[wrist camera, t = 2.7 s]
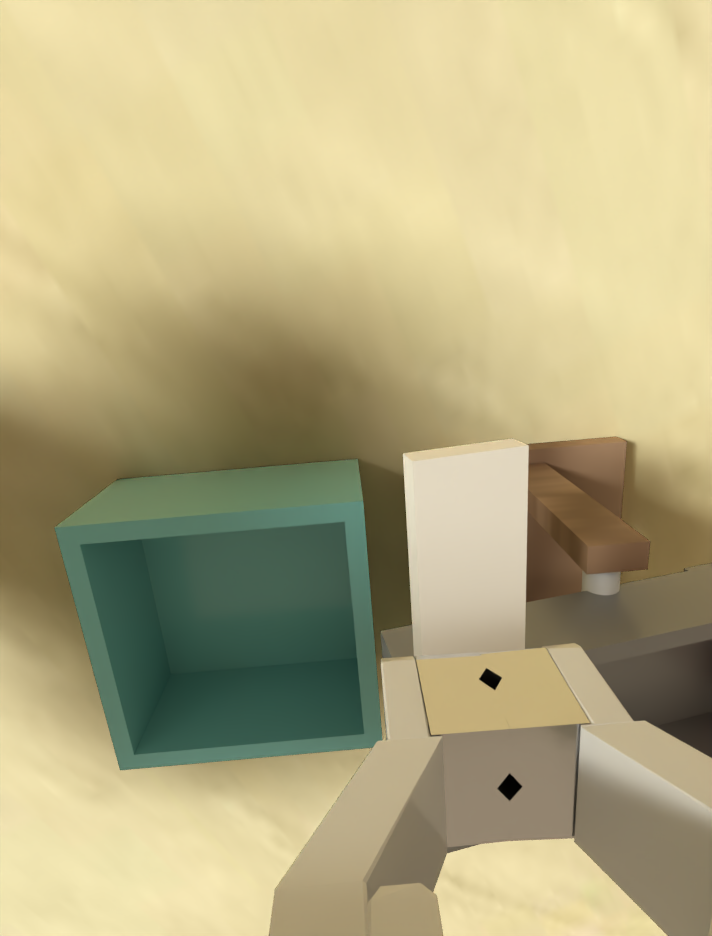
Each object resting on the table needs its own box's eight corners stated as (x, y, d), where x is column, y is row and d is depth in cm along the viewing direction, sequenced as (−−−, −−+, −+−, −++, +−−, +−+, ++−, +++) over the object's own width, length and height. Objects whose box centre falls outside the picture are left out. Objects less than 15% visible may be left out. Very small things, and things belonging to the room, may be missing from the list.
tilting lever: (384, 772, 20) (426, 905, 15) (356, 429, 16) (402, 473, 12) (738, 686, 23) (860, 777, 18) (789, 375, 19) (961, 394, 14)
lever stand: (427, 656, 30) (469, 823, 20) (417, 453, 26) (463, 537, 16) (602, 641, 30) (727, 799, 20) (616, 436, 26) (777, 510, 16)
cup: (162, 680, 29) (120, 770, 24) (117, 479, 26) (54, 527, 20) (374, 661, 29) (383, 746, 24) (357, 458, 26) (363, 501, 20)
